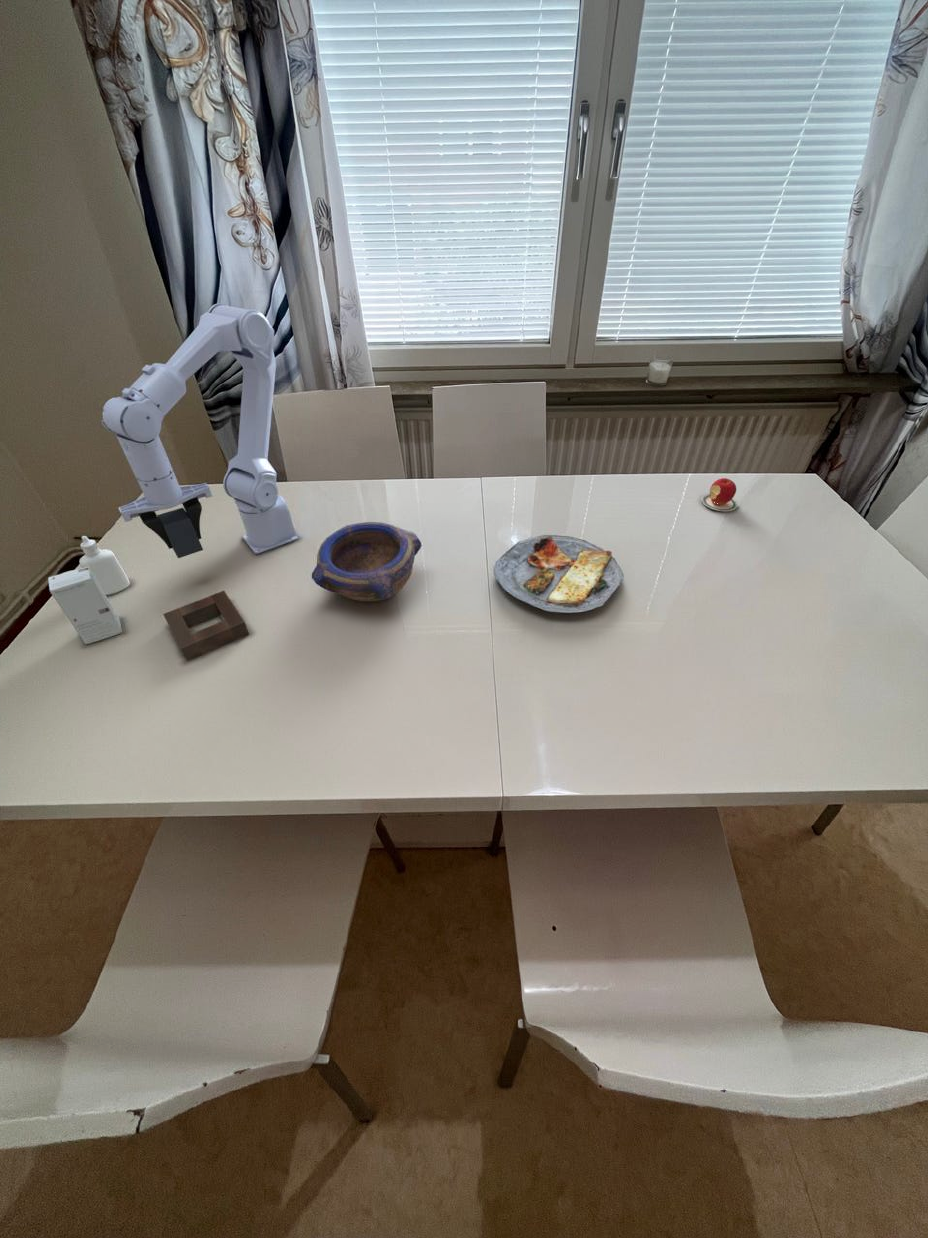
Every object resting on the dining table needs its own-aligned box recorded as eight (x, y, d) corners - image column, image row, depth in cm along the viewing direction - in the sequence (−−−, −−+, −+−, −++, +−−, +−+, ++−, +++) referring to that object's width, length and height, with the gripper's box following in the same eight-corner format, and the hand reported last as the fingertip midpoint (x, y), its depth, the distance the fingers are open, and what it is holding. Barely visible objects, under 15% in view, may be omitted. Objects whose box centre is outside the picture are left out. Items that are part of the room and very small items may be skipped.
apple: (732, 516, 119) (742, 491, 115) (697, 506, 122) (705, 481, 118) (739, 501, 124) (749, 476, 120) (705, 492, 127) (714, 468, 123)
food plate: (537, 530, 115) (538, 517, 112) (637, 567, 105) (641, 553, 102) (473, 589, 100) (474, 575, 97) (583, 638, 90) (586, 623, 88)
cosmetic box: (85, 646, 89) (46, 592, 80) (83, 630, 91) (45, 577, 83) (125, 632, 91) (91, 578, 83) (121, 617, 94) (88, 564, 86)
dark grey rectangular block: (196, 539, 99) (182, 507, 94) (203, 550, 96) (189, 517, 91) (171, 547, 97) (156, 514, 92) (178, 558, 94) (163, 525, 90)
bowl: (306, 605, 96) (294, 562, 90) (353, 552, 109) (345, 511, 102) (392, 628, 92) (386, 584, 85) (431, 570, 104) (429, 528, 97)
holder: (229, 602, 97) (224, 590, 95) (249, 634, 91) (244, 621, 89) (169, 626, 92) (163, 613, 90) (186, 661, 86) (180, 648, 84)
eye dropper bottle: (103, 582, 101) (71, 531, 93) (133, 580, 102) (104, 528, 94) (95, 597, 98) (61, 545, 90) (126, 594, 99) (96, 542, 91)
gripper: (192, 453, 92) (217, 519, 101) (102, 476, 85) (137, 544, 95) (204, 468, 88) (228, 535, 97) (110, 493, 81) (146, 562, 90)
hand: (184, 541), depth 95 cm, fingers closed on dark grey rectangular block, 4 cm apart
